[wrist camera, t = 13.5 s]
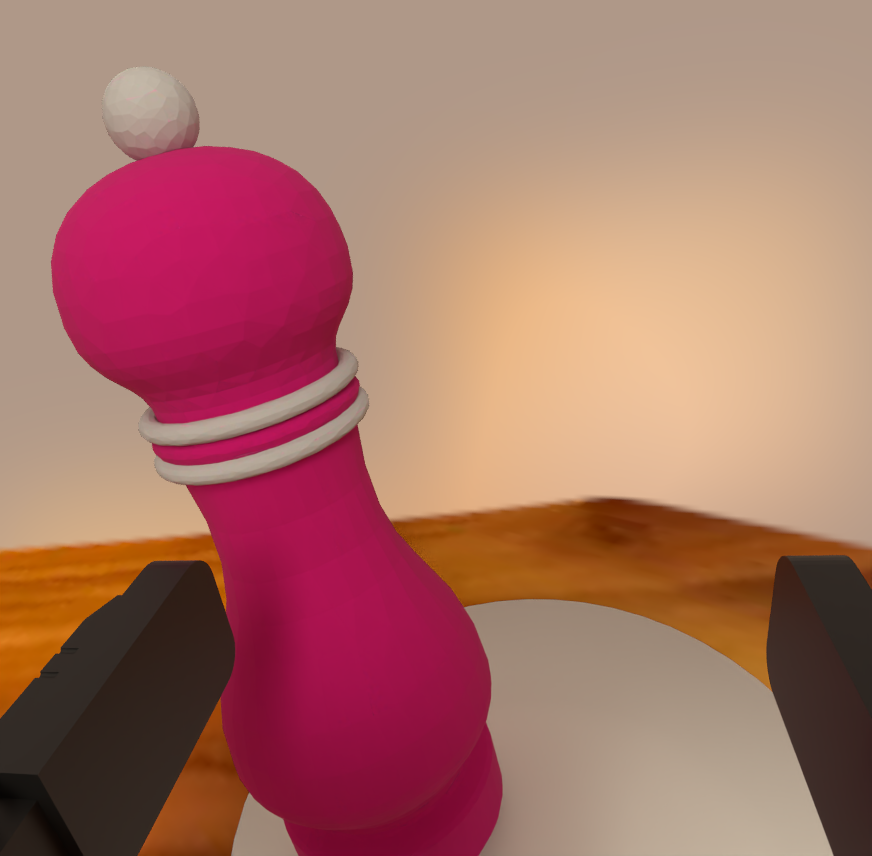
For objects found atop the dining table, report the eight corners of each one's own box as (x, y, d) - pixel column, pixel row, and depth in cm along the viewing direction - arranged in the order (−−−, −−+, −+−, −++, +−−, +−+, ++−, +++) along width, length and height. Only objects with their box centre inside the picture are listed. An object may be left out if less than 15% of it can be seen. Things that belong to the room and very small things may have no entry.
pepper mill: (457, 677, 24) (280, 72, 17) (570, 835, 18) (362, -26, 11) (264, 777, 22) (-29, 135, 15) (313, 996, 16) (-154, 60, 9)
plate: (790, 648, 26) (795, 612, 26) (1050, 1477, 11) (1083, 1452, 10) (356, 619, 31) (349, 588, 30) (101, 1175, 15) (73, 1141, 15)
